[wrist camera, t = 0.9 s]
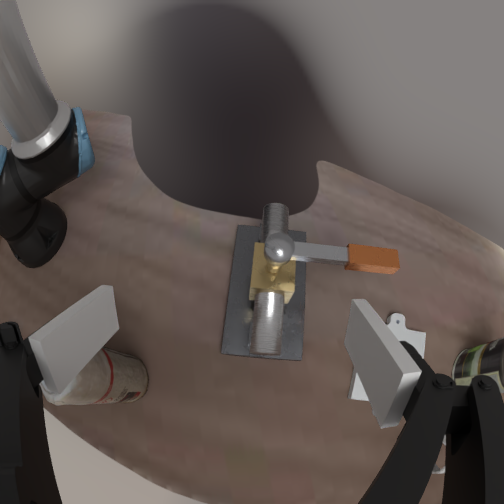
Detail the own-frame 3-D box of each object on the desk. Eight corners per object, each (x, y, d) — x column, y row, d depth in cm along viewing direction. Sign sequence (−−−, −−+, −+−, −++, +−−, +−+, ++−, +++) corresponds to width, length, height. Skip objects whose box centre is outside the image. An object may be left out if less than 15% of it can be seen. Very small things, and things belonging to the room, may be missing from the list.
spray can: (104, 401, 36) (26, 402, 18) (101, 353, 39) (25, 326, 22) (151, 404, 37) (89, 414, 19) (148, 353, 40) (86, 328, 22)
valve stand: (299, 360, 41) (325, 350, 28) (221, 354, 41) (213, 341, 28) (304, 236, 51) (323, 188, 38) (238, 229, 51) (238, 177, 38)
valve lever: (262, 264, 32) (263, 257, 31) (264, 238, 34) (265, 230, 32) (393, 277, 32) (400, 271, 31) (390, 253, 34) (396, 246, 32)
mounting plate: (362, 309, 45) (366, 306, 44) (421, 322, 44) (426, 319, 43) (343, 412, 37) (347, 413, 36) (407, 417, 36) (413, 418, 35)
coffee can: (448, 354, 41) (499, 338, 28) (479, 344, 42) (526, 326, 29) (452, 404, 36) (504, 400, 24) (483, 389, 37) (531, 380, 24)
